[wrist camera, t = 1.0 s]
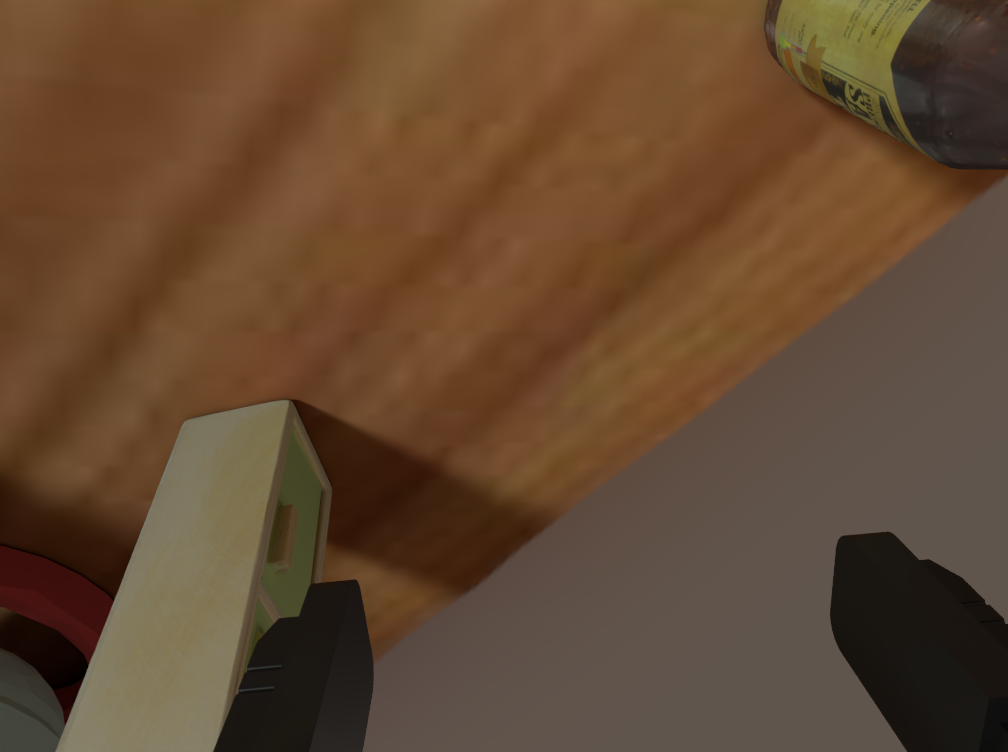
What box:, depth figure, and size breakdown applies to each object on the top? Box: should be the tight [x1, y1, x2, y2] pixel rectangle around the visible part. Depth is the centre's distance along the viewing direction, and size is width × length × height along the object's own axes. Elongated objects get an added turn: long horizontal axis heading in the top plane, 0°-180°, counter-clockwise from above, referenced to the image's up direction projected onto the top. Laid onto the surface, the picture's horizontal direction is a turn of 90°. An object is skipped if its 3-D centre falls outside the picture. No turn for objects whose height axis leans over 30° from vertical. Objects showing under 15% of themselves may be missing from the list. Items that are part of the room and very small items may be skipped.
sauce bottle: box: [764, 0, 1008, 170], centre depth 25 cm, size 7×6×20 cm
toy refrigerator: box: [55, 400, 332, 752], centre depth 36 cm, size 8×7×21 cm
